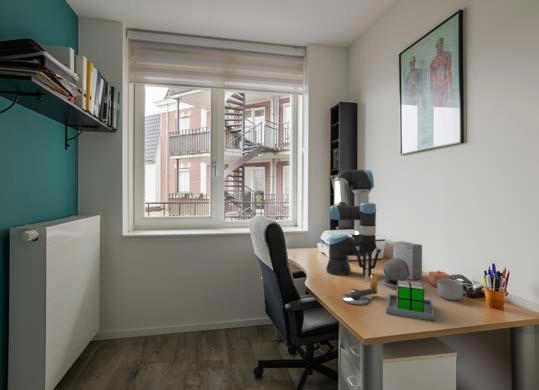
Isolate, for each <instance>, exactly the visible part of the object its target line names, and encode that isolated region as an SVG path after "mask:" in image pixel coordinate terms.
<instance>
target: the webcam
mask: <svg viewBox="0 0 539 390" xmlns="http://www.w3.org/2000/svg"><path fill="white" fill-rule="evenodd" d="M383 274H384V276H385V277H386V279H384V280H383V281H382V282H383V286H384V287H385V288H389V289H392V290H397V281H398V280H399V281H407V279H408V277H409V269H408V266H407V264H406V262H405V261H404V260H402V259H400V258H393V257H392V258H390V259H388V260H386V261H385V262H384V265H383Z"/></svg>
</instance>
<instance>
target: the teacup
mask: <svg viewBox="0 0 539 390" xmlns="http://www.w3.org/2000/svg"><path fill="white" fill-rule="evenodd" d="M437 293H438V295H439V296H440V297H441V298H442V299H444V300H448V301H458V300H460V299H461V298H462V297H463V296H464V283H463V282H462V281H460V280H457V279H450V280H448V279H445V280H444V279H442V280H438V281H437Z"/></svg>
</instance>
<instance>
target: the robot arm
mask: <svg viewBox="0 0 539 390" xmlns="http://www.w3.org/2000/svg"><path fill="white" fill-rule="evenodd" d="M374 182H375V181H374V175H373V172H372V170H371V169H345V170H342V171H340V172H339V173H337V174H336V175H335V177H334V178H333V180H332V188H333V194H334V195H333V205H331V206H330V208H329V209H330V211H329V212H330V213H329V214H330V215H329V217H330V220H336V221H343V220H344V221H354V224H353V225H354V227H353V228H354V232H352V234H351V236H349V234H347V233H346V234H345V233H343V234H342V233H341V234H334V235H331V236H330V237H329V241H328V242H329V243H328V244H329V247H328V249H329V251H328V253H329V254H328V255H329V257H328V262H327V265H326V268H325V269H326V271H327V272H326V273H328V274H330V273H331V275H336V276H346V275H351V274H352V268H351V264H350V261H349V257H356V258H357V263H358V266H359V268H362V275H363V276H364V283H367V284H368V283H370V274H372V270H375V268H376V266H377V262H378V259H379V256H380V255H379V254H380V253H381V251H382V249H381V248H379V247H378V246H377V242H376V240H377V239H376V230H377V229H376V228H377V227H376V226H377V224H376V223H377V222H376V221H377V220H376V219H377V217H376V216H377V215H376V214H377V205H376V203H373V202H370V201H369V200H370V197H369V195H370V193H371V192H372V189H374V187H375V183H374ZM348 189H351V192H352V193H353V194H354V205H348V204H349V203H348V202H349V201H348V200H349V199H348ZM374 251H375V256H374V259H372V258H373V257H372V256H373V253H374ZM361 257H362V258H361ZM367 258H368V260H367ZM372 261H373V263H372ZM367 262H368V266H367Z"/></svg>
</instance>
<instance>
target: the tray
mask: <svg viewBox="0 0 539 390" xmlns="http://www.w3.org/2000/svg"><path fill="white" fill-rule="evenodd" d="M433 304H434V303H433V300H431V299H425V298H424V313H423V312H417V311H411V310H404V309H398V308H397V294H388V299H387V302H386V309H385V311H386V314H387V315H388V314H389V315H395V316H400V317H406V318H412V319H419V320H424V321H425V320H426V321H429V320H431V322H435V310H434V305H433Z"/></svg>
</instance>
